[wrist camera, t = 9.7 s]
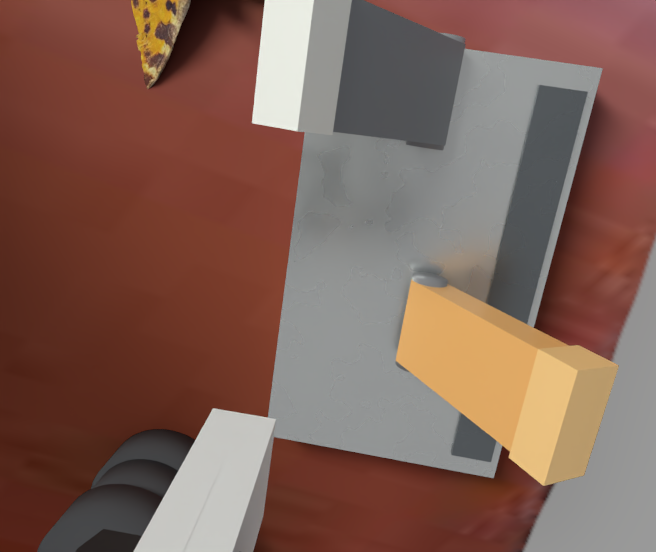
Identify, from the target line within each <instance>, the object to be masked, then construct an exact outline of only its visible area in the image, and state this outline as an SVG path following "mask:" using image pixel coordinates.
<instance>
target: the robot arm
mask: <svg viewBox="0 0 656 552" xmlns="http://www.w3.org/2000/svg"><path fill="white" fill-rule="evenodd" d="M275 423H276V419H272V418H266V417H261V416H255V415H249V414H243V413H238V412H232V411H226V410H220V409H214V408H213V409H212V411H211V413H210V415H209V417H208V418H207V420H206V422H205V424H204V426H203V427H202V429H201V431H200V433H199V435H198V436H197V438H196V440H195V442H194V444H193V445H192V447H191V449H190V451H189V453H188V454H187V456H186V458H185V460H184V462H183V463H182V465H181V467H180V469H179V471H178V472H177V474H176V476H175V478H174V480H173V481H172V483H171V485H170V487H169V489H168V490H167V492H166V494H165V496H164V498H163V499H162V501H161V503H160V505H159V507H158V508H157V510H156V512H155V514H154V516H153V517H152V519H151V521H150V523H149V525H148V526H147V528H146V530H145V532H144V534H143V535H142V536H140V535H135V534H129V533H124V532H118V531H113V530H107V529H103V530H101V531H100V532H99V533H97V534H96V535H95V536H93V537H92V538H91V539H89V540H88V541H87V542H85V543H84V544H83V545H81V546H80V547H79V548H78V549H77V550H76V551H75V552H253V550H254V547H255V543H256V540H257V536H258V533H259V529H260V525H261V522H262V518H263V514H264V506H265V499H266V491H267V484H268V476H269V469H270V461H271V454H272V446H273V438H274V431H275Z"/></svg>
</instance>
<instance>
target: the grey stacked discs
mask: <svg viewBox="0 0 656 552" xmlns="http://www.w3.org/2000/svg"><path fill="white" fill-rule="evenodd" d="M194 442H195V440H194V439H192V438H190V437H189V436H187V435H184V434H182V433H179V432H175V431H171V430H164V429H154V430H147V431H143V432H140V433H138V434H135V435H133V436H132V437H130V438H129V439H127V440H126V441H125V442H124V443H123V444H122V445H121V446H120V447H119V448H118V450H117V451H116V452H115V453H114V454H113V456H112V457H111V458H110V459H109V460H108V462H107V463H106V464H105V465H104V466H103V468H102V469H101V470H100V471H99V472H98V474H97V475H96V477H95V479H94V481H93V483H92V486H91V489H90V490H88V491H86V492H85V493H83V494H82V495H81V496H79V497H78V498H77V499H76V500H75V501H74V502H73V504H72V505H71V506H70V507H69V508H68V509H67V511H66V512H65V513H64V514H63V515H62V517H61V518H60V519H59V520H58V521H57V523H56V524H55V525H54V526H53V527H52V529H51V530H50V531H49V532H48V533H47V535H46V536H45V537H44V539H43V540H42V542H41V544H40V546H39V548H38V552H75V551H76V550H77V549H78V548H79V547H80V546H81V545H83V544H84V543H85V542H87V541H88V540H89V539H91V538H92V537H93V536H95V535H96V534H97V533H99V532H100V531H101V530H103V529H107V530H113V531H118V532H124V533H129V534H135V535H140V536H142V535H143V534H144V532H145V530H146V528H147V526H148V525H149V523H150V521H151V519H152V517H153V516H154V514H155V512H156V510H157V508H158V507H159V505H160V503H161V501H162V499H163V498H164V496H165V494H166V492H167V490H168V489H169V487H170V485H171V483H172V481H173V480H174V478H175V476H176V474H177V472H178V471H179V469H180V467H181V465H182V463H183V462H184V460H185V458H186V456H187V454H188V453H189V451H190V449H191V447H192V445H193V444H194Z"/></svg>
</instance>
